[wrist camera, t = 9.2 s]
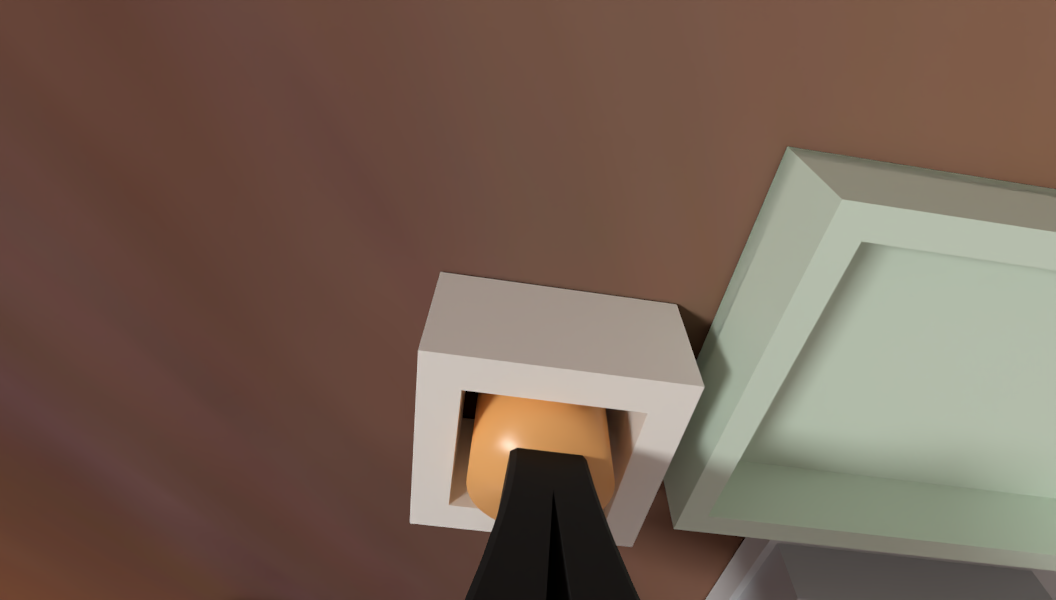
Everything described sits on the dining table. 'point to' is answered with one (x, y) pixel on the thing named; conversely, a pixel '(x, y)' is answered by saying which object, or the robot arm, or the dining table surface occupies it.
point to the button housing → (549, 385)
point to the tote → (882, 369)
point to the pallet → (869, 576)
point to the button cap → (534, 442)
